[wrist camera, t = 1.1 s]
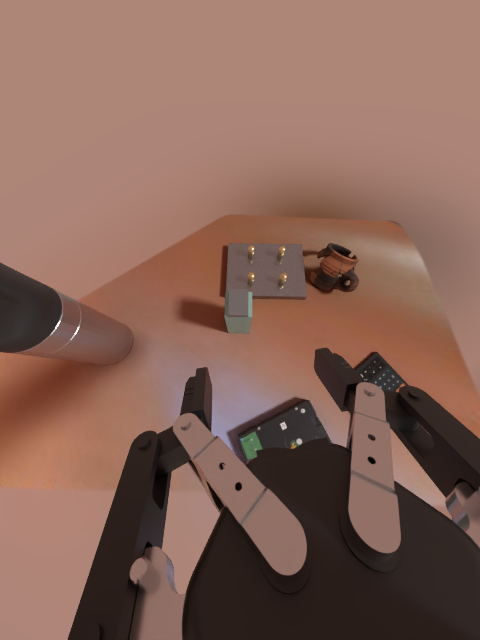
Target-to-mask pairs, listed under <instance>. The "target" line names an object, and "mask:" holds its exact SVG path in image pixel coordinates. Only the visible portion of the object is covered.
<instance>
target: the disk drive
mask: <svg viewBox="0 0 480 640" xmlns="http://www.w3.org/2000/svg"><path fill="white" fill-rule="evenodd" d="M316 416H317V415H316V413H315V410H314V408H313V406H312V404H311V403H310V401H309V400H303V401H301V402H298V403H297V404H295V405H293V406H292V407H290V408H288V409H286V410H284V411H282V412H280V413H278V414H276V415H274V416H273V417H271V418H269V419H267V420H265V421H263V422H261V423H259V424H257V425H256V426H253V427H250V428H249V429H247V430H246V431H244V432H242V433H240V434H238V441H239V443H240V446H241V448H242V451H243V453H244V456H245V458H246V461H247V463H248V462H249V461H250V460H252V459H253V458H255V457H257V454H256V450H261V449H266V448H271V447H279V448H290V449H293V448H296V447H298V446H300V445H302V444H304V443H305V442H307V441H309V440H314V439H319V438H325V437H327V439H328V440H329V442H330V443H332V442H331V440H330V438H329V437H328V435H327V433H326V431H325V429H324V427H323V425H322V424H321V422H320V421H319V419H318V417H316Z"/></svg>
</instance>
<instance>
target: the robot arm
mask: <svg viewBox="0 0 480 640" xmlns="http://www.w3.org/2000/svg"><path fill="white" fill-rule="evenodd" d="M132 343H133V336H132V333H131V331H130V329H129V328H128V327H127V326H126V325H124V324H122V323H120V322H118V321H116V320H114V319H112V318H110V317H108V316H106V315H105V314H103V313H101V312H99V311H97V310H95V309H93V308H91V307H89V306H87V305H85V304H83V303H81V302H79V301H77V300H75V299H73V298H71V297H69V296H66V295H64V294H63V293H61V292H58V291H56V290H55V289H53V288H50V287H49V286H47V285H45V284H42V283H40V282H38V281H36V280H34V279H32V278H30V277H28V276H26V275H24V274H22V273H20V272H18V271H15V270H14V269H12V268H10V267H8V266H6V265H4V264H2V263H0V352H5V353H14V354H22V355H30V356H38V357H46V358H53V359H61V360H68V361H76V362H83V363H90V364H98V365H112V364H115V363H118V362H119V361H121V360H122V359H123V358H124V357H126V355H127V354H128V353H129V351H130V349H131V347H132ZM314 369H315V372H316V374H317V376H318V377H319V379H320V380H321V382H322V383H323V384H324V386H325V387H326V389H327V390H328V392H329V393H330V395H331V396H332V398H333V399H334V401H335V402H336V404H337V405H338V407H339V408H340V410H341V411H342V412H343V411H349V412H350V421H349V430H348V440H347V447H346V448H345V447H343V446H340V445H337V444H333V443H330V442H329V440H328V439H327V437H325V438H319V439H314V440H309V441H307V442H305V443H304V444H302V445H300V446H298V447H296V448H293V449H290V448H279V447H271V448H266V449H261V450H256V454H257V457H255V458H253V459H252V460H250V461H249V462H248V463H247V464H246V465H244V464H243V463H242V462H241V460H240V459H239V458H238V457H237V456H236V455H235V454H234V453H233V452H232V451H231V449H230V448H229V447H228V446H227V445H226V444H225V443H224V442H223V441H222V440H221V439H220V438H219V437H218V436H216V437H215V436H214V435H213V434H212V433H211V421H212V384H211V380H210V376H209V372H208V368H207V367H204V368H198V369H196V376H195V377H190V378H189V380H188V381H187V382H186V386H185V391H184V397H183V402H182V407H181V413H180V417H179V418H177V420H176V421H175V423H174V425H173V426H172V427H170V428H169V429H167V430H165V431H163V432H160V433H158V434H157V433H156V432H154V431H146V432H144V433H142V434H140V435H139V436H138V437H137V438H136V439H135V440H134V441H133V443H132V444H131V447H130V450H129V453H128V456H127V459H126V462H125V465H124V468H123V471H122V475H121V478H120V481H119V484H118V487H117V490H116V493H115V496H114V499H113V502H112V505H111V508H110V511H109V514H108V518H107V520H106V524H105V527H104V530H103V533H102V536H101V539H100V542H99V545H98V548H97V551H96V554H95V558H94V561H93V564H92V567H91V569H90V573H89V576H88V579H87V582H86V585H85V588H84V591H83V594H82V597H81V600H80V604H79V606H78V609H77V612H76V615H75V618H74V622H73V625H72V628H71V631H70V634H69V637H68V640H480V439H479V438H478V437H477V436H476V435H474V434H473V433H472V432H471V431H470V430H469V429H467V428H466V427H465V426H464V425H463V424H462V423H461V422H459V421H458V420H457V419H456V418H455V417H454V416H452V415H451V414H450V413H449V412H448V411H447V410H445V409H444V408H443V407H442V406H441V405H440V404H439V403H437V402H436V401H435V400H434V399H433V398H432V397H430V396H429V395H428V394H427V393H426V392H424V391H423V390H421V389H419V388H416V387H413V386H402V387H400V388H399V391H398V392H393V391H383V390H382V389H381V388H379V387H378V386H376V385H374V384H372V383H368V382H365V380H364V379H363V378H362V377H361V376H360V375H359V374H358V373H357V372H356V371H355V370H354V369H353V368H352V367H351V366H350V365H349V364H348V363H347V362H346V361H345V359H344V358H343V357H341V356H339V355H338V354H336V353H334V354H332V352H331V351H330V350H329V349H328V348H321V349H316V350H315V360H314ZM390 429H392V430H393V431H394V433H395V434H396V435H397V436H398V438H399V439H400V440H401V441H402V443H403V444H404V445H405V447H406V448H407V449H408V450H409V452H410V453H411V454H412V455H413V457H414V458H415V459H416V461H417V462H418V463H419V464H420V466H421V467H422V468H423V469H424V471H425V472H426V473H427V474H428V476H429V477H430V478H431V480H432V481H433V482H434V483H435V485H436V486H437V487H438V488H439V490H440V491H441V492H442V494H443V495H444V496H445V497H446V507H447V509H448V511H449V513H450V515H451V516H452V520H451V519H449V518H448V517H446V516H445V515H444V514H442V513H441V512H439V511H438V510H436V509H435V508H434V507H432V506H431V505H429V504H428V503H426V502H425V501H423V500H422V499H420V498H419V497H418V496H416V495H415V494H413V493H412V492H410V491H409V490H407V489H406V488H405V487H403V486H402V485H400V484H399V483H397V482H396V481H394V476H393V463H392V450H391V437H390ZM424 429H425V430H426V431H427V432H428V433H429V434H430V435H431V436H430V435H429V434H428V433H427V432H426V431H425V430H424ZM187 462H188V464H189V465H190V467H191V469H192V470H193V472H194V473H195V475H196V476H197V478H198V479H199V481H200V482H201V484H202V485H203V487H204V489H205V490H206V492H207V494H208V496H209V497H210V499H211V501H212V502H213V504H214V505H215V507H216V509H217V510H218V512H219V513H220V516H219V518H218V520H217V523H216V524H215V527H214V529H213V531H212V533H211V535H210V537H209V539H208V542H207V544H206V546H205V548H204V550H203V552H202V554H201V557H200V559H199V561H198V563H197V565H196V567H195V569H194V571H193V574H192V576H191V578H190V581H189V584H188V587H187V591H186V594H178V593H177V591H176V587H175V582H174V567H173V564H172V561H171V560H170V559H169V557H168V556H167V555H166V554H165V553H164V552H163V550H162V543H163V535H164V528H165V520H166V511H167V504H168V496H169V488H170V480H171V472H172V471H173V470H175V469H176V468H178V467H180V466H182V465H183V464H185V463H187Z"/></svg>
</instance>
